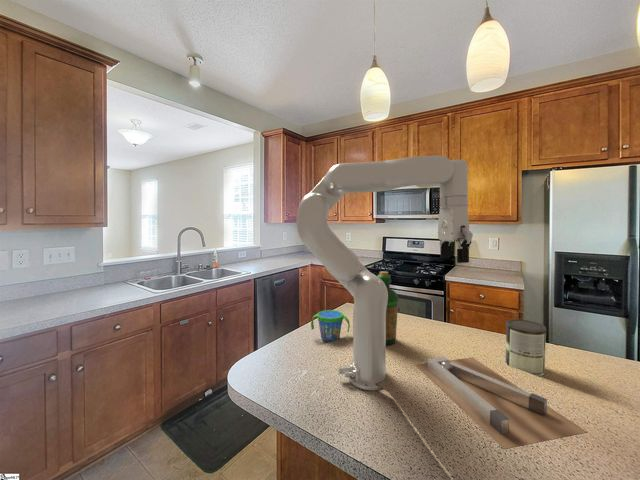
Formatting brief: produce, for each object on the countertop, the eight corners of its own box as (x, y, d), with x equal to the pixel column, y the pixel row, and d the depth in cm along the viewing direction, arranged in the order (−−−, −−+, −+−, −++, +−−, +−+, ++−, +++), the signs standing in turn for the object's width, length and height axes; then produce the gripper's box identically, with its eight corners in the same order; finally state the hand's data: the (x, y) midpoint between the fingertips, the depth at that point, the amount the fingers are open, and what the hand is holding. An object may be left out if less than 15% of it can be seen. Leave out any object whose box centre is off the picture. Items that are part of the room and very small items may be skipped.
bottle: (400, 351, 102) (400, 275, 100) (370, 349, 103) (369, 274, 102) (396, 339, 112) (396, 269, 110) (369, 338, 114) (369, 269, 112)
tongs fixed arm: (427, 368, 87) (427, 358, 87) (444, 366, 88) (444, 356, 88) (500, 434, 60) (501, 420, 60) (524, 429, 61) (524, 415, 61)
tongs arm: (439, 372, 84) (439, 362, 84) (446, 368, 86) (446, 358, 86) (541, 419, 64) (541, 405, 64) (546, 412, 66) (547, 399, 66)
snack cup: (352, 335, 117) (351, 311, 116) (346, 346, 107) (346, 320, 106) (316, 331, 122) (316, 308, 121) (307, 341, 112) (307, 316, 111)
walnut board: (503, 456, 56) (504, 448, 56) (414, 369, 90) (414, 364, 89) (587, 438, 60) (587, 432, 60) (472, 361, 94) (472, 357, 94)
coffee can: (497, 360, 94) (498, 319, 93) (527, 359, 95) (529, 318, 94) (520, 377, 84) (522, 331, 83) (554, 376, 84) (556, 330, 83)
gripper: (428, 205, 92) (429, 257, 93) (457, 201, 75) (457, 265, 76) (450, 204, 92) (451, 256, 94) (484, 200, 75) (484, 264, 76)
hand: (453, 260), depth 85 cm, fingers open, 9 cm apart
